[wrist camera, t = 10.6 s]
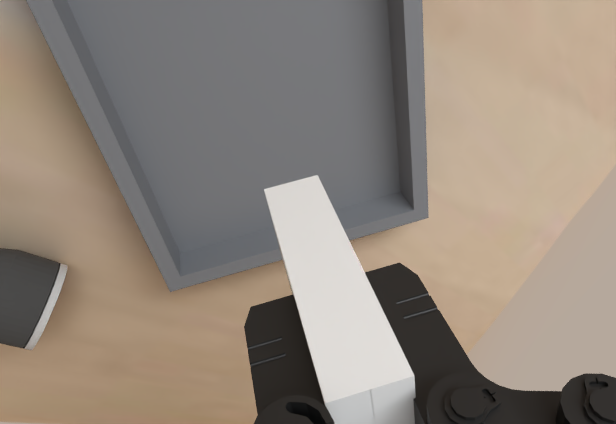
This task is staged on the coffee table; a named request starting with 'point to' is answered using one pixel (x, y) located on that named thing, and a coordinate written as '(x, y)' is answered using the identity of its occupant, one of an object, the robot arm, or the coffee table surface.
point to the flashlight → (27, 296)
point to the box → (247, 115)
